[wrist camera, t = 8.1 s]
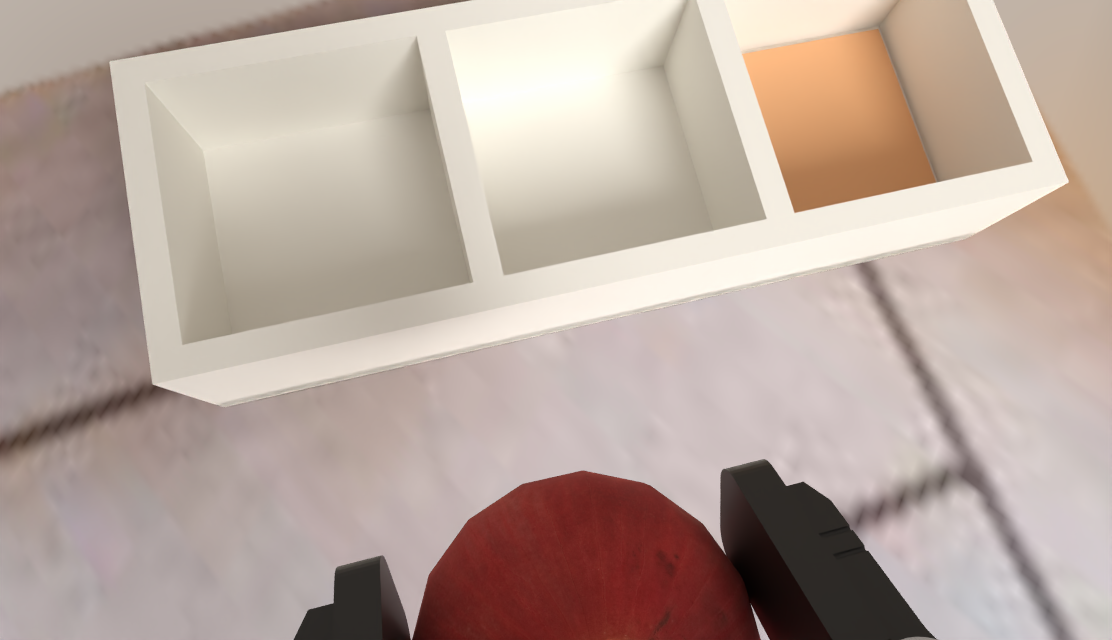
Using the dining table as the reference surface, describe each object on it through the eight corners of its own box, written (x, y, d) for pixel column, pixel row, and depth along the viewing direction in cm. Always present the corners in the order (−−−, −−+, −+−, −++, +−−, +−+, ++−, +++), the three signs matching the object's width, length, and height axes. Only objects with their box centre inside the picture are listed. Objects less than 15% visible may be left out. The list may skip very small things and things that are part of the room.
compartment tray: (224, 407, 28) (152, 384, 22) (182, 135, 31) (107, 50, 25) (965, 239, 32) (1068, 182, 26) (878, 8, 34) (955, -91, 29)
